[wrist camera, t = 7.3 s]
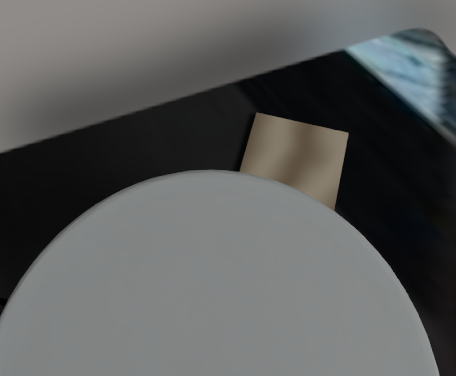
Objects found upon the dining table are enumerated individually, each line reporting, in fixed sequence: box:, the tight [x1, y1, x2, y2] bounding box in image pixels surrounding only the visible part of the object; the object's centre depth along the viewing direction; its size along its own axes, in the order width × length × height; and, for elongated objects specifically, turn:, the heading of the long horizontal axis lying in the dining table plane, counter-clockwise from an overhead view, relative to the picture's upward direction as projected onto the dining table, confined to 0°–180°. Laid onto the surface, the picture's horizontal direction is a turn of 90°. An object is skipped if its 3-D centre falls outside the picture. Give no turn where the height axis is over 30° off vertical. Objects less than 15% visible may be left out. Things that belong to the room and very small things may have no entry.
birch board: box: [239, 113, 348, 211], centre depth 32 cm, size 11×11×1 cm
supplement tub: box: [0, 170, 439, 376], centre depth 12 cm, size 10×10×15 cm
